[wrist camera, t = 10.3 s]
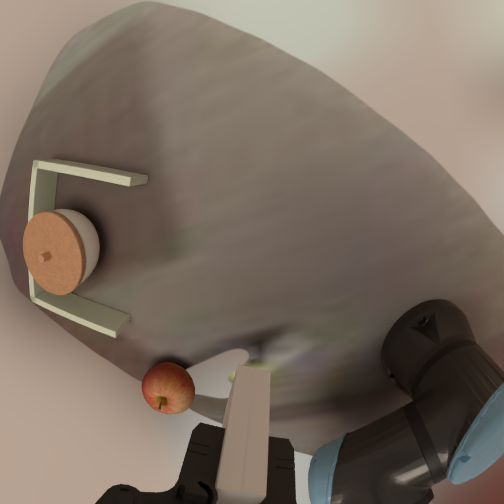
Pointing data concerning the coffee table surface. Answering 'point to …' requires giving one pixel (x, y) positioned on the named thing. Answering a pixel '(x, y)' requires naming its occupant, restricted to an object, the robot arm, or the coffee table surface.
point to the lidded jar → (60, 249)
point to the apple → (168, 388)
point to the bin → (44, 200)
